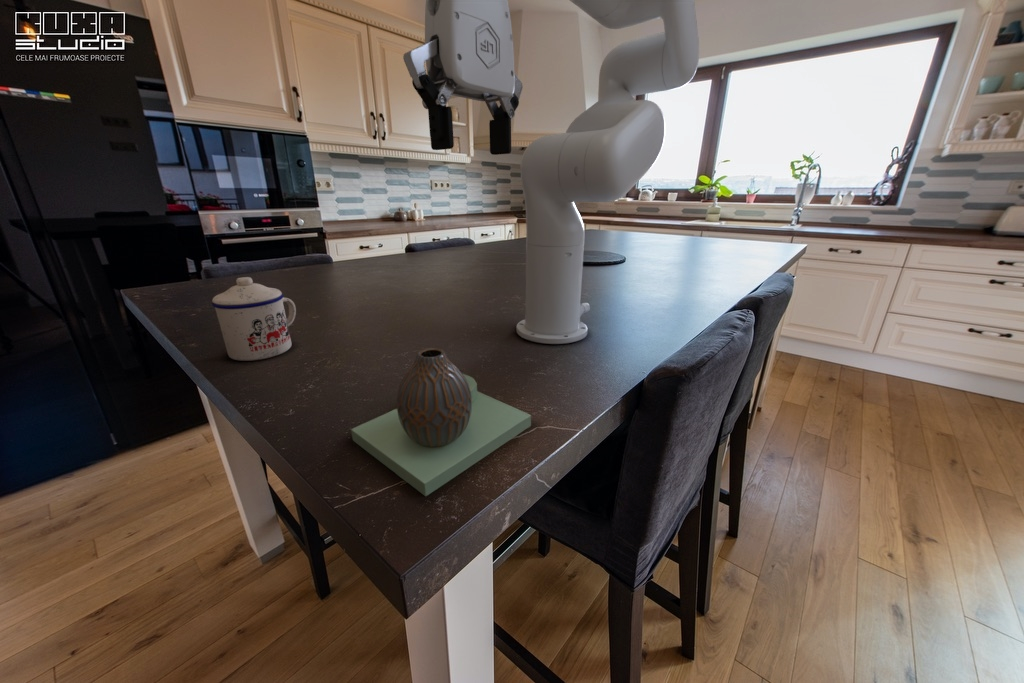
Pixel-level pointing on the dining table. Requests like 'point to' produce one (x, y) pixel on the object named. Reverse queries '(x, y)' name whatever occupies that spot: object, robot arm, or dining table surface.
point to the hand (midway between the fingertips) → (473, 151)
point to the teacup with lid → (254, 320)
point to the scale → (441, 464)
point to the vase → (434, 400)
